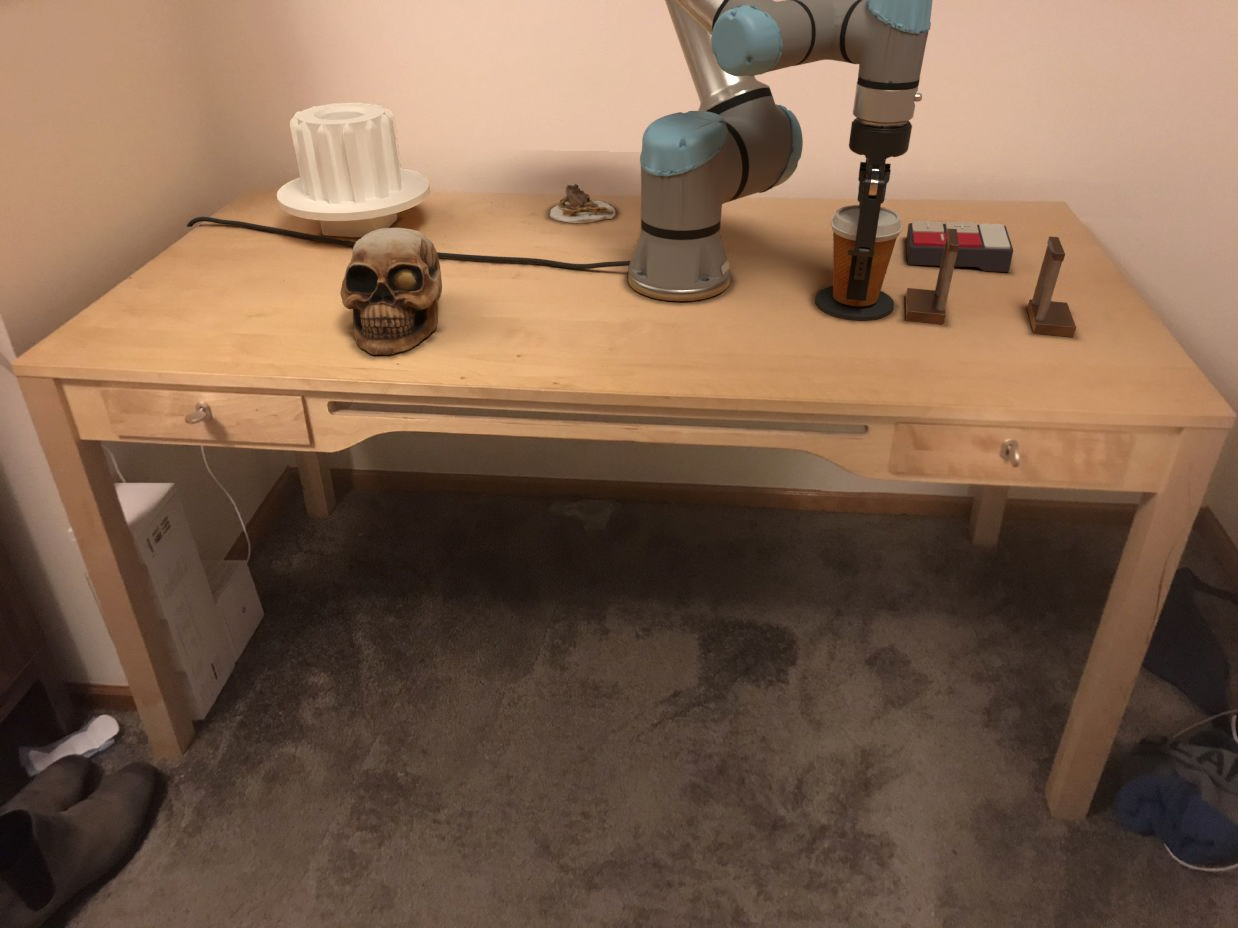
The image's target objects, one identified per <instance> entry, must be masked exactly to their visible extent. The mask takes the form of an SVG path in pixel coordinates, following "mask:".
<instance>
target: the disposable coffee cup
mask: <svg viewBox="0 0 1238 928" xmlns="http://www.w3.org/2000/svg"><path fill="white" fill-rule="evenodd" d="M859 206H860V205H859V204H852V205H847V206H846V205H845V206H843V207H840V208H838V209H836V211H835V213H834V217H833V218H831V220H830V226H831V230H832V231H833V233H832V236H833V238H832V240H833V241H832V242H833V243H832V248H833V251H832V258H833V259H832V260H833V261H832V286H833V297H834V299H835V300H836V301H838V302H840V303H843V304H846V305H851V306H868V305H872V304H874V303H876V302H877V300H878V297H879V294H880V291H882V287H883V284H884V280H885V277H886V275H887V271H888V267H889V265H890V262H891V258H892V254H893V251H894V248H895V245H896V241H897V238H898V237H899V236H900V234H901V232H902V231H903V224H902V223H901V222H902V221H901V215H900V214H899V213H898V212H897V211H895V210H892V209H890V208H887V207H883V206H881V207H880V213H879V220H878V226H877V233H876V239H875V246H874V251H875V253H874V256H873V260H872V266H871V272H870V278H869V285H868V291H867V297H866V301H861V300H851V299H846V294H847V287H848V280H849V273H850V266H851V260H852V255H848V250H853V249H854V248H855V241H856V234H857V227H858V219H859V212H860V209H859Z"/></svg>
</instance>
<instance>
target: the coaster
mask: <svg viewBox="0 0 1238 928" xmlns="http://www.w3.org/2000/svg"><path fill="white" fill-rule="evenodd" d="M814 303H815V305H816V307H817V308H818V309H820V311H822V312H824V313H825V314H827V315H830V316H832V317H835V318H839V319H843V320H848V321H849V320H850V321H873V320H879V319H882V318H885V317H887V316H889V315H890V314H891V313H892V312H893V310H894V306H895V302H894V300H893V298H892V297H891V296H890V295H889V294H887V293H886V292H884V291H882V290H880V294H879V297H878V300H877V302H876V303H874V304H872V305H868V306H851V305H846V304H843V303H840V302H838V301H836V300H835V299H834V297H833V285H830V286H829V285H828V286H826V287H824V288H822V289H820V290H819V291H818V292H817V293H816V294H815V298H814Z"/></svg>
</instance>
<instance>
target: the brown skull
mask: <svg viewBox="0 0 1238 928" xmlns="http://www.w3.org/2000/svg"><path fill="white" fill-rule="evenodd" d="M355 242H356V243H355V245H354V247H353V248H352V254H351V259H350V261H349V263H348V265H347V266H346V269H345V273H344V277H343V279H342V281H341V282H342V283H341V287H340V292H339V293H340V298H341V303H342V305H343V306H344V308H345V309H347V310H352V333H353V337H354V339H355V342H356V345H357V346H358V347H359V348H360V349H362V350H364V351H366V352H367V353H368V354H369V355H373V356H389V355H394V354H398V353H403V352H406V351H409V350H411V349H413V348H414V347H416V346H417V345H419V344H420V343H421V342H422V341H423V340H424V339H426V338H428V337H429V336H430V335H431V333H434V332H435V331H436V330H437V326H438V322H439V310H438V309H439V308H438V301H439V300H440V299H441V296H442V293H443V290H442V289H443V281H442V279H443V278H442V271H441V264H440V257H438V254H437V252H438V251H437V249H436V247H435V244H434V243H433V241H432V240H431V239H430V238H429V237H427V236H426V235H425V234H423V233H422V232H420V231H417V230H415V229H412V228H404V227H389V228H382V229H378V230H375V231H372V232H370V233H368V234H366V235H364V236H363V237H362V238H359V239H358V240H357V241H355Z"/></svg>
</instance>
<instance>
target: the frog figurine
mask: <svg viewBox="0 0 1238 928" xmlns="http://www.w3.org/2000/svg"><path fill="white" fill-rule="evenodd" d="M614 217H616V208H614V207H613V205H612V204H611V203H608V202H606V201H602V200H593V199H592V198H591V195H590V194H588V193H585V191H584V190H581V188H580V185H579V184H577V183H574V185H572V184H567V185H566V186H565V196H564V197H563V198H561V199H560V200H559V203H558V204H557V205H555V206H553V208H551V209H550V214H549V218H551V219H552V220H554V221H560V222H562V223H571V224H588V223H593V222H599V221H602V220H611V219H613V218H614Z"/></svg>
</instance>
